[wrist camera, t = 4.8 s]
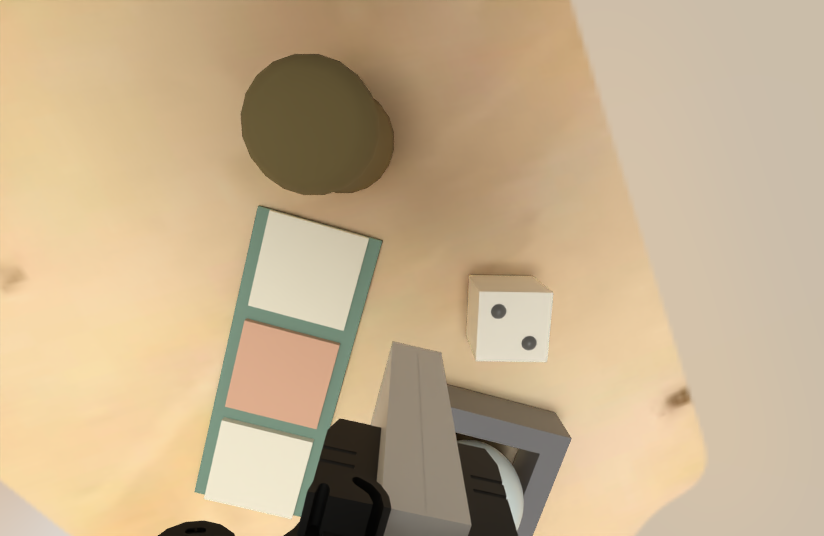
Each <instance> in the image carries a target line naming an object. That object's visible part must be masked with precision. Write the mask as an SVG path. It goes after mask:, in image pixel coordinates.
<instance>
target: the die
mask: <svg viewBox="0 0 824 536" xmlns="http://www.w3.org/2000/svg"><path fill="white" fill-rule="evenodd" d="M552 303H553V292H552V291H551V290H549V289H548V288H547V287H546V286H545V285H543V284H542V283H541V282H540V281H538V280H537V279H536V278H535V277H534V276H507V275H469V286H468V306H467V327H466V337H467V340H468V342H469V345H470V347H471V350H472V353H473V355H474V358H475V360H476V361H502V362H547V359H548V348H549V336H550V325H551V314H552Z"/></svg>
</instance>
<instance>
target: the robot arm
mask: <svg viewBox="0 0 824 536" xmlns="http://www.w3.org/2000/svg"><path fill="white" fill-rule="evenodd" d="M158 536H235V535H234V533H233V532H231V531H230V530H228V529H227V528H225V527H224V526H222V525H221V524H216V523H212V522H208V521H194V522H185V523H182V524H179V525H176V526H174V527H171V528H168V529H166V530H165V531H164V532H162V533H161V534H160V535H158ZM284 536H518V533H517V530H516V526H515V523H514V519H513V516H512V513H511V509H510V506H509V502H508V499H506V492H505V489H504V485H502V478H501V475H500V472H499V468H498V465H497V464H496V462H495V461H494V460H493V458H492V457H491V456H490V454H489V453H488V452H487V451H486V449H484V448H479V447H475V446H470V445H466V444H461V443H457V439H456V434H455V428H454V422H453V416H452V411H451V405H450V399H449V394H448V388H447V382H446V376H445V371H444V365H443V359H442V354H441V352H436V351H432V350H428V349H424V348H419V347H415V346H411V345H407V344H402V343H398V342H394V341H393V342H392V346H391V349H390V353H389V357H388V361H387V364H386V368H385V372H384V376H383V380H382V383H381V387H380V391H379V395H378V398H377V402H376V406H375V410H374V413H373V417H372V421H371V425H367V424H363V423H358V422H354V421H349V420H344V419H339V420H338V421H337V422H336V423H334V424H333V425H332V426H331V427H330V428H329V429H328V430H327V433H326V437H325V441H324V444H323V448H322V451H321V455H320V458H319V462H318V465H317V469H316V473H315V476H314V480H313V482H312V484H311V485H310V487H309V489H308V491H307V494H306V498H305V502H304V506H303V511H302V515H301V519H300V522H299V523H298V524H297V525H296V526H295V528H294V529H292V530H291V531H290V532H288V533H287V534H285V535H284Z"/></svg>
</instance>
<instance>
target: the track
mask: <svg viewBox="0 0 824 536" xmlns="http://www.w3.org/2000/svg"><path fill="white" fill-rule="evenodd" d="M381 244H382V240H379V239H375V238H372V237H368V236H365V235H361V234H358V233H354V232H350V231H347V230H343V229H340V228H336V227H333V226H329V225H326V224H322V223H319V222H315V221H312V220H308V219H305V218H301V217H298V216H294V215H291V214H287V213H284V212H280V211H277V210H273V209H270V208H266V207H263V206H258V209H257V213H256V218H255V222H254V227H253V231H252V236H251V240H250V245H249V249H248V254H247V258H246V263H245V267H244V272H243V276H242V281H241V285H240V290H239V294H238V299H237V303H236V308H235V312H234V317H233V321H232V326H231V330H230V335H229V339H228V344H227V348H226V353H225V357H224V362H223V366H222V371H221V375H220V380H219V384H218V389H217V393H216V398H215V402H214V407H213V411H212V416H211V420H210V425H209V429H208V434H207V438H206V443H205V447H204V452H203V456H202V461H201V465H200V470H199V474H198V479H197V483H196V488H195V492H197V493H201V494H205V496H204V499H207V500H211V501H215V502H220V503H224V504H228V505H232V506H237V507H241V508H245V509H250V510H254V511H258V512H263V513H267V514H271V515H276V516H280V517H284V518H289V519H292V517H293V515H296V516H300V517H301V515H302V511H303V506H304V502H305V498H306V494H307V491H308V489H309V487H310V485H311V484H312V482H313V480H314V476H315V473H316V469H317V465H318V462H319V458H320V455H321V451H322V448H323V444H324V441H325V437H326V433H327V430H328V429H329V428H330V425H331V422H332V418H333V415H334V411H335V407H336V404H337V400H338V397H339V393H340V390H341V386H342V383H343V379H344V375H345V372H346V368H347V365H348V361H349V358H350V354H351V351H352V347H353V343H354V340H355V336H356V333H357V329H358V326H359V322H360V319H361V315H362V311H363V308H364V304H365V301H366V297H367V294H368V290H369V286H370V283H371V279H372V276H373V272H374V269H375V265H376V262H377V258H378V254H379V251H380V247H381Z"/></svg>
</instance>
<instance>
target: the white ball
mask: <svg viewBox="0 0 824 536" xmlns="http://www.w3.org/2000/svg"><path fill="white" fill-rule="evenodd" d="M457 443H461V444H466V445H470V446H475V447H479V448H484V449H486V451H487V452H488V453H489V454H490V456H491V457H492V458H493V460H494V461H495V462H496V464H497V465H498V468H499V472H500V475H501V478H502V485H504V489H505V492H506V499H508V502H509V506H510V509H511V513H512V516H513V519H514V523H515V526H516V530H518V528H519V525H520V522H521V519H522V515H523V508H524V498H523V490H522V486H521V482H520V479H519V477H518V475H517V473H516V471H515V469H514V467H513V466H512V464H511V463H510V461H509V460H508V459H507V458H506V457H505V456H504V455H503V454H502V453H501V452H499V451H498V450H497V449H495V448H494V447H492V446H490V445H488V444H486V443H483V442H480V441H476V440H459V441H457Z"/></svg>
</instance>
